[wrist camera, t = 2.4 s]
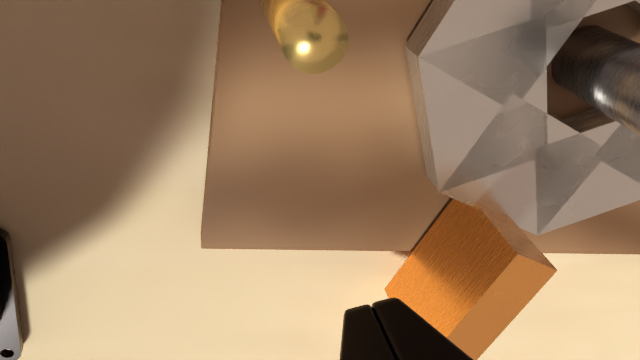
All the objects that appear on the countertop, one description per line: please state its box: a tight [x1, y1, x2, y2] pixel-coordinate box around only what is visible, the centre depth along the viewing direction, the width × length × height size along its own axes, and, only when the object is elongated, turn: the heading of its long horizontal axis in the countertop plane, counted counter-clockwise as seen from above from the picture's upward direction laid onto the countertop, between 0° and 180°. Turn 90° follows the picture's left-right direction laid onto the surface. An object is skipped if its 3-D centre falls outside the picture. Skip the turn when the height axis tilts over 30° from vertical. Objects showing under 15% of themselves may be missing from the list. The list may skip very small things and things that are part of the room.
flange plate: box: [385, 0, 640, 360], centre depth 19 cm, size 18×13×4 cm
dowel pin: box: [259, 0, 348, 74], centre depth 15 cm, size 2×2×6 cm
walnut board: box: [201, 0, 640, 254], centre depth 20 cm, size 18×24×1 cm
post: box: [551, 25, 640, 136], centre depth 18 cm, size 2×2×7 cm
